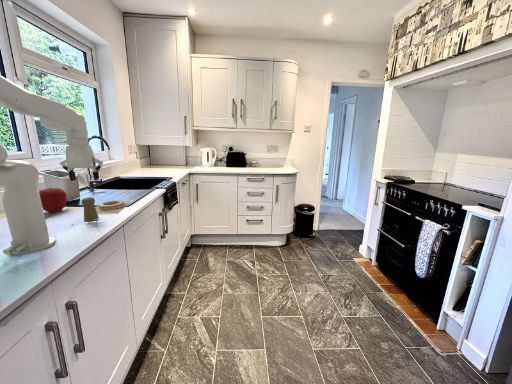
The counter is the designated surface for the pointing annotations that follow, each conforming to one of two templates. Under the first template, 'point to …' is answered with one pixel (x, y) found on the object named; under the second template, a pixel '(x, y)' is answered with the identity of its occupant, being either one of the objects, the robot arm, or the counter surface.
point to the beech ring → (110, 204)
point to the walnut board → (113, 211)
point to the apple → (53, 199)
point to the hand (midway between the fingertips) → (85, 180)
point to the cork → (89, 209)
